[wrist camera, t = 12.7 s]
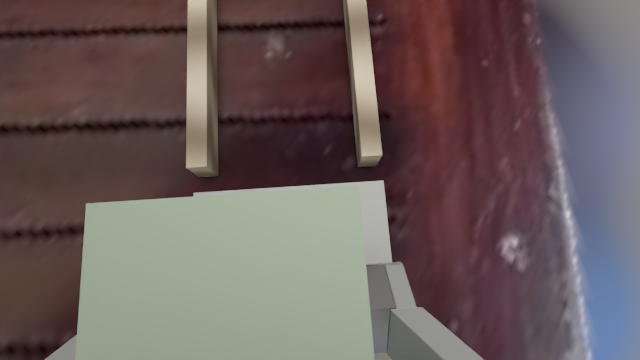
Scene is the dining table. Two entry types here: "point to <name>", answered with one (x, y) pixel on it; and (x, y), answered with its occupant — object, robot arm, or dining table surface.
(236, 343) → the block
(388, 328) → the robot arm
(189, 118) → the lane
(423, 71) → the dining table surface
